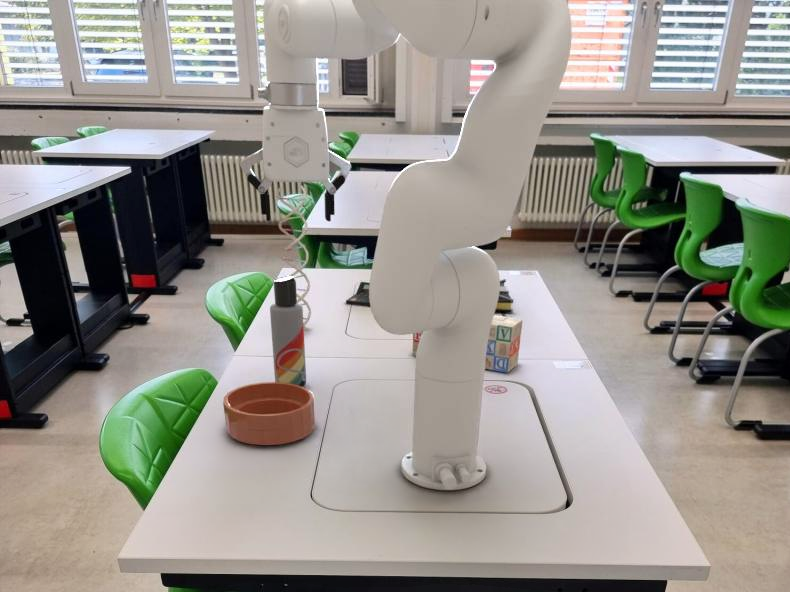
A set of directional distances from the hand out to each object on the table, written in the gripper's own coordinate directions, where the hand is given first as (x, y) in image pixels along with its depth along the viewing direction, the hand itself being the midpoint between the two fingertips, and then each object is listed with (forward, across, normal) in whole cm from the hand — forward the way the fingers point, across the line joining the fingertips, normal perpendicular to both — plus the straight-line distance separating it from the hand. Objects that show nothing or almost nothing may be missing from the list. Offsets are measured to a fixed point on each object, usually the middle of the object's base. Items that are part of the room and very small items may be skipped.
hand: (298, 219), depth 119 cm
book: (+30, +47, +57) cm, 80 cm away
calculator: (+30, +20, +61) cm, 71 cm away
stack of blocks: (+30, +33, +13) cm, 46 cm away
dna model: (+30, 0, +35) cm, 46 cm away
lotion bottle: (+30, -3, +1) cm, 30 cm away
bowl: (+29, -6, -17) cm, 34 cm away
